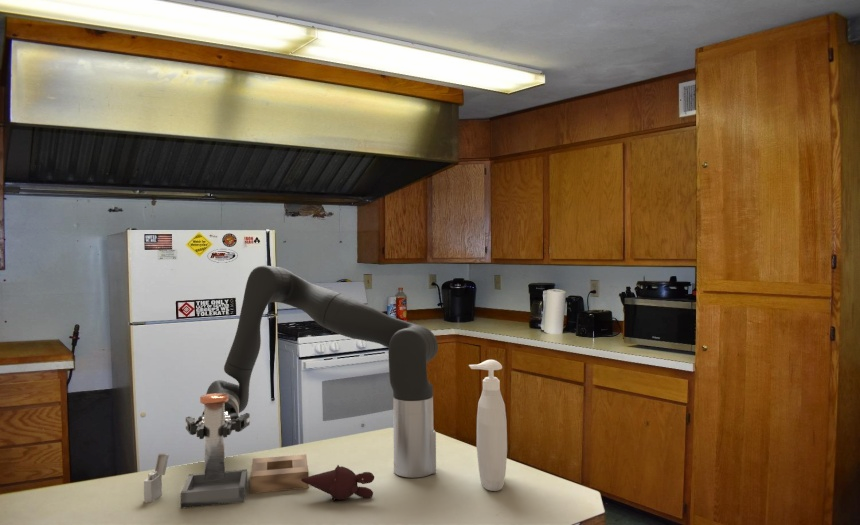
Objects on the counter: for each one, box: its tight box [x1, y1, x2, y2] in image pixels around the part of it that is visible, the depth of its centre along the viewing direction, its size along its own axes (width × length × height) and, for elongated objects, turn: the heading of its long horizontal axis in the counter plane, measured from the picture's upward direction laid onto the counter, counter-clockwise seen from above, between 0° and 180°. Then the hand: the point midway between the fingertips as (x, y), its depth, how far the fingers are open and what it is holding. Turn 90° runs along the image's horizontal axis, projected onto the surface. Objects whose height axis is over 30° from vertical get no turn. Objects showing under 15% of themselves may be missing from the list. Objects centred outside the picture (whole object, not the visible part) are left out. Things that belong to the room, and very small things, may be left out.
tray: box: [180, 468, 248, 509], centre depth 127 cm, size 12×11×3 cm
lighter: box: [143, 453, 169, 503], centre depth 127 cm, size 7×2×8 cm, turn 176°
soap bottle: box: [468, 359, 508, 492], centre depth 131 cm, size 14×8×27 cm, turn 0°
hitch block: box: [249, 453, 310, 494], centre depth 135 cm, size 12×12×4 cm
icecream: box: [301, 464, 375, 502], centre depth 124 cm, size 7×7×15 cm
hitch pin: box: [199, 393, 229, 481], centre depth 127 cm, size 6×6×17 cm
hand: (213, 433), depth 124 cm, fingers closed on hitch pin, 4 cm apart
